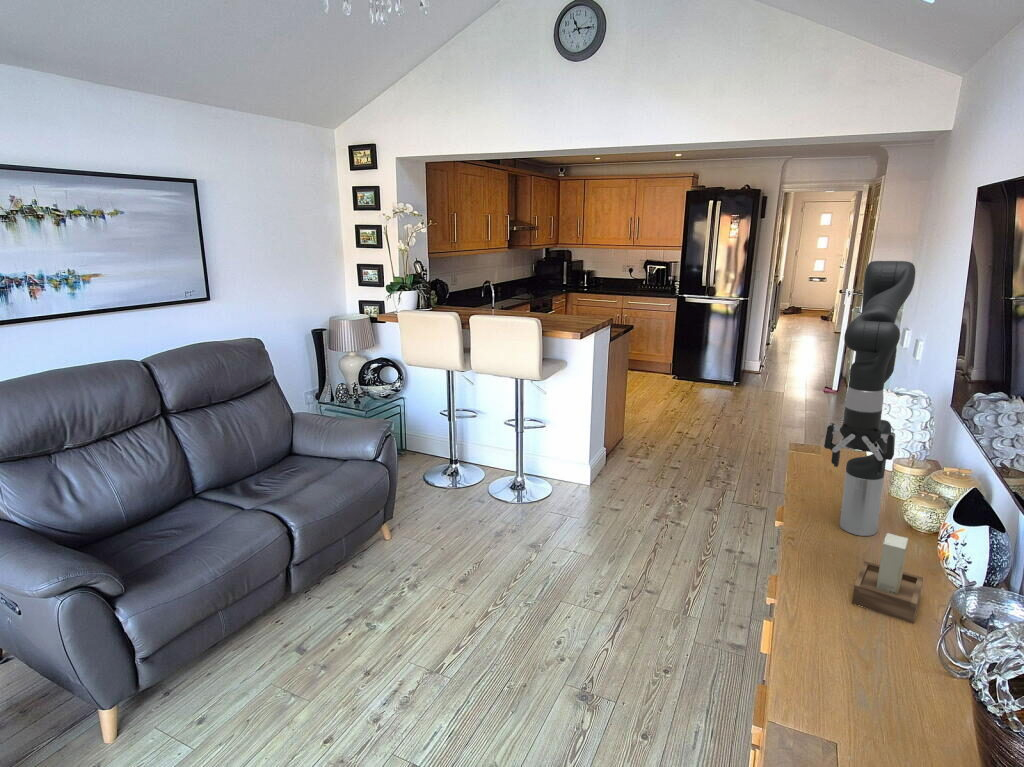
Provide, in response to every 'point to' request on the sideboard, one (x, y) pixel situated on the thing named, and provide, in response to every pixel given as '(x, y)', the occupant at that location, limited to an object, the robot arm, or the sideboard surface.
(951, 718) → the sideboard surface
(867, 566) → the brown wooden tray
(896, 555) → the skincare box
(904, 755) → the sideboard surface
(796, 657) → the sideboard surface
